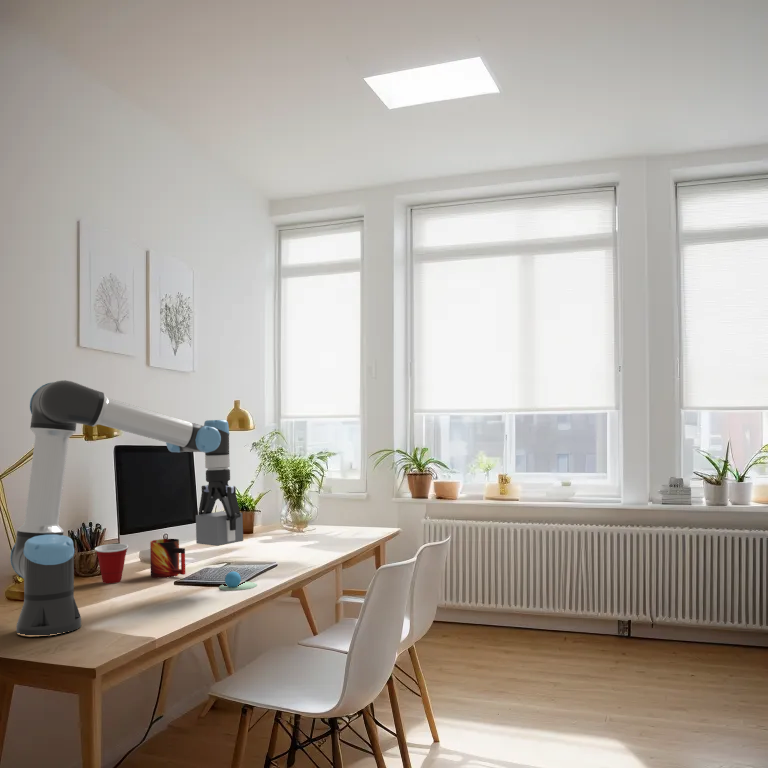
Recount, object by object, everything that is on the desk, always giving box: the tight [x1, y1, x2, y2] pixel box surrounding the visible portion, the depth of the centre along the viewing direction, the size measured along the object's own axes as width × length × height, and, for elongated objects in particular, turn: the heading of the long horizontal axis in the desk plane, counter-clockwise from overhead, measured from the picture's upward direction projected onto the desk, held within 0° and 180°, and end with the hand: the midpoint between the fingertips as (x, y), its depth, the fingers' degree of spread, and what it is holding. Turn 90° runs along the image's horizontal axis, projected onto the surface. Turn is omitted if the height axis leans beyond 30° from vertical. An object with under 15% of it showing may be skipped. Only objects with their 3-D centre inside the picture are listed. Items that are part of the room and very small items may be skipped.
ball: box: [224, 571, 242, 588], centre depth 238 cm, size 5×5×5 cm
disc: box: [218, 581, 258, 591], centre depth 240 cm, size 12×12×1 cm
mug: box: [149, 538, 186, 579], centre depth 262 cm, size 10×14×12 cm
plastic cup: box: [94, 543, 129, 584], centre depth 252 cm, size 11×11×12 cm
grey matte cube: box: [195, 510, 244, 547], centre depth 235 cm, size 10×10×9 cm
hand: (219, 539), depth 235 cm, fingers closed on grey matte cube, 10 cm apart
